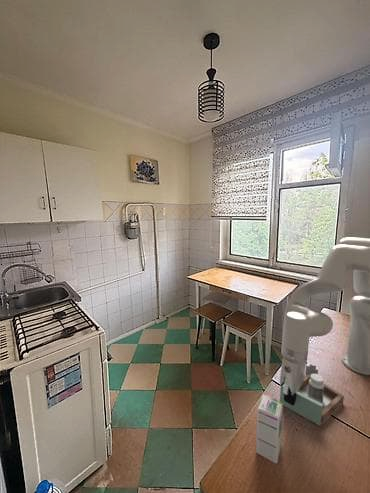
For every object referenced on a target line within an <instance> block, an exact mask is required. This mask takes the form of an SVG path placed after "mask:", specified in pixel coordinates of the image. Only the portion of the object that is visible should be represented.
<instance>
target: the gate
mask: <svg viewBox="0 0 370 493" xmlns="http://www.w3.org/2000/svg"><path fill="white" fill-rule="evenodd" d="M283 389H284V385H283V386H281V385H280V394H279V401H280V402H282V403H283V406H284V407H286V408H287V409H289V410H291V411H293V412H294V413H297V414H298V415H300V416H302V417H304V418H305V419H307V420H309V421H310V422H312V423H314V424H316V425H318V426H319V427H321V425H322V424H321V417H322V407H323V404H322V403H320V402H318V401H316V400H314V399H312V398H310V397H308V396H306V395H304V394H302V393H300V392H298V391H297V392H296V403H295V404H294V406H292V405H291V404H289V403H287V402H285V401H284V393H283Z"/></svg>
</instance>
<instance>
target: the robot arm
mask: <svg viewBox="0 0 370 493" xmlns="http://www.w3.org/2000/svg"><path fill="white" fill-rule="evenodd" d="M351 275H352V276H353V277H352V278H353V280H352V281H353V282H352V283H353V290H354V292H355V293H356V294H358V295H355V296H353V297H352V298H351V299H350V301H349V314H350V324H349V333H348V342H347V349H346V350H347V351H346V354H344V355H342V357H341V362H342V363H343V365H344V366H346V368H348V369H350V370H351V371H352V372H355V373H357V374H360V375H363V376H369V375H370V237H369V238H368V237H356V236H347V237H346V236H345V237H343V238H341V239H340V240H339V242H338V244H336V245H334V246H333V247H332V248H331V249H330V251H329V253H328V255H327V256H326V258H325V260H324V263H323V264H322V266H321V268H320V270H319V272H318V274H317V275H316V277H315V278H314V279H312V280H310V281H307V282H305V283H304V284H302V285H301V286H299V287H298V288H296V290H294V292H293V293H292V295H291V297H290V299H289V300H288V302H287V305H286V306H285V310H284V316H283V317H284V319H283V327H282V337H281V338H282V339H281V340H282V341H281V349H280V350H281V355H282V361H281V367H280V368H281V369H280V373H279V374H280V375H279V384H280V387H281V386H283V385H284V389H283V393H284V401H285V402H287V403H289V404H291V405H292V406H294V404H295V403H296V392H297V391H298V390H299V388H300V387H301V385H302V383H303V382H304V379H305V376H306V361H307V360H308V355H309V354H308V353H309V346H310V345H309V344H310V338H311V337H312V338H315V337H323V336H326V335H327V336H328V334H329V333H331V331H332V329H333V326H334V322H333V320H332V318H331V317H330V316H329V315H328V314H327V313H324V312H322V311H320V310H317V309H315V308H312V307H309V306H307V305H305V302H306V301H307V300H308V299H310V298H311V297H313V296H317V295H321V294H332V293H340V292H342V291H344V290H345V288H346V285H347V283H348V281H349V279H350V277H351ZM307 362H308V361H307Z"/></svg>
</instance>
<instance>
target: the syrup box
mask: <svg viewBox="0 0 370 493" xmlns="http://www.w3.org/2000/svg"><path fill="white" fill-rule="evenodd" d="M283 406H284V405H283V403H282V402H280V400H278V399H276V398H275V397H274V398H273V397H271V396H269V395H266V394H262V395H261V397H260V401H259V403H258V406H257V416H256V443H255V444H256V445H255V446H256V448H255V449H256V454H258V455H260V456H262V457H263V458H265V459H266V460H269V461H270V462H272V463H275V464H278V461H279V458H280V452H281V447H282V429H283V427H282V426H283V408H284V407H283Z"/></svg>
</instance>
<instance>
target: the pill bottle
mask: <svg viewBox="0 0 370 493" xmlns="http://www.w3.org/2000/svg"><path fill="white" fill-rule="evenodd" d="M323 383H324V377H322V376H321V375H320V374H319V373H318V374H311V377H310V380H309V387H308V397H310V398H312V399H314V400H316V401H318V402H320V403H322V402H323V394H324V384H325V383H324V384H323Z"/></svg>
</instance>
